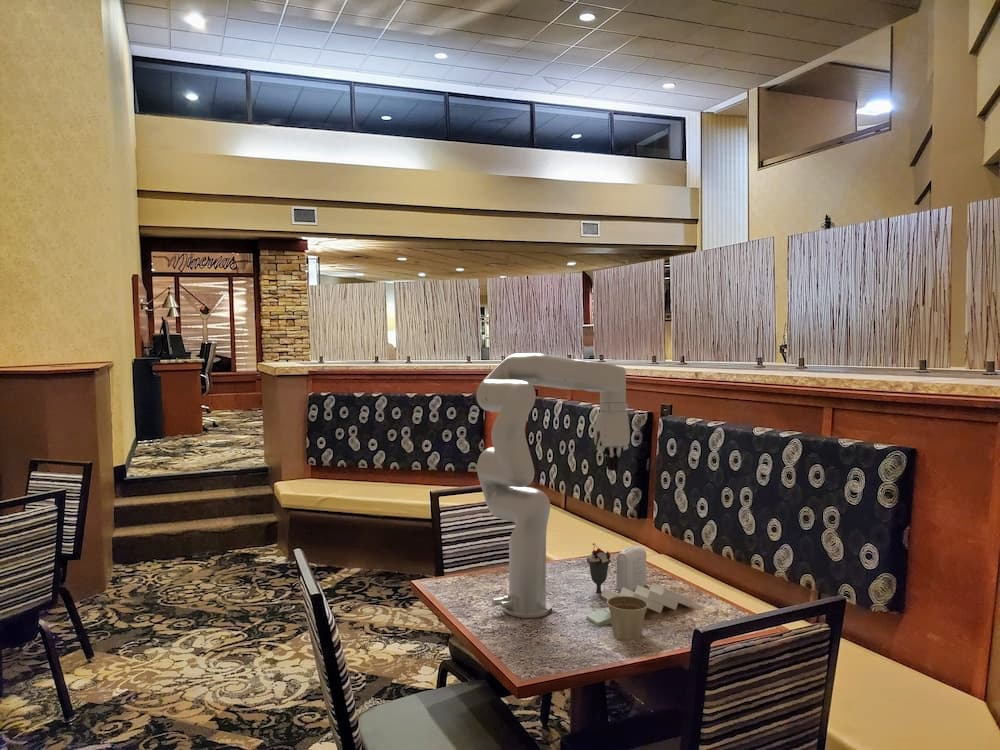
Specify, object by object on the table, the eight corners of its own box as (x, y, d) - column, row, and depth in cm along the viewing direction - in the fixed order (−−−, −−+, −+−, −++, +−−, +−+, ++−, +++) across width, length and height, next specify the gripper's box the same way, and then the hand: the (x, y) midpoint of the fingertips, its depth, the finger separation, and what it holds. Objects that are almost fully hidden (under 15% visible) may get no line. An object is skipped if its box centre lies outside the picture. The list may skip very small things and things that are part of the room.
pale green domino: (632, 617, 165) (598, 630, 161) (620, 611, 170) (587, 623, 165) (631, 609, 165) (597, 622, 161) (619, 603, 169) (586, 615, 165)
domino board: (632, 627, 163) (632, 622, 163) (610, 615, 171) (610, 610, 171) (705, 612, 173) (705, 607, 173) (681, 601, 181) (681, 596, 181)
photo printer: (635, 585, 194) (635, 542, 194) (648, 588, 191) (648, 545, 191) (614, 593, 187) (614, 549, 187) (626, 597, 184) (627, 552, 184)
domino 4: (689, 607, 173) (662, 595, 169) (676, 601, 177) (649, 589, 173) (692, 599, 173) (664, 587, 169) (679, 593, 178) (652, 582, 174)
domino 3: (675, 610, 171) (647, 598, 167) (662, 603, 175) (634, 592, 171) (678, 602, 171) (650, 590, 167) (665, 596, 176) (637, 584, 172)
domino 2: (660, 613, 169) (631, 600, 165) (647, 606, 173) (619, 594, 169) (663, 605, 169) (634, 592, 165) (650, 599, 174) (622, 586, 170)
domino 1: (642, 614, 166) (612, 602, 162) (630, 608, 171) (600, 595, 167) (645, 606, 167) (616, 593, 163) (633, 600, 171) (604, 587, 167)
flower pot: (623, 628, 162) (623, 592, 162) (656, 640, 155) (656, 603, 155) (598, 639, 156) (598, 602, 156) (631, 652, 149) (631, 613, 149)
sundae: (584, 599, 182) (584, 544, 182) (589, 591, 188) (589, 538, 188) (608, 602, 180) (608, 546, 180) (613, 594, 186) (613, 540, 186)
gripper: (625, 406, 206) (625, 466, 207) (584, 408, 200) (584, 470, 200) (641, 408, 200) (640, 470, 200) (598, 409, 193) (598, 473, 193)
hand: (612, 469), depth 200 cm, fingers closed
